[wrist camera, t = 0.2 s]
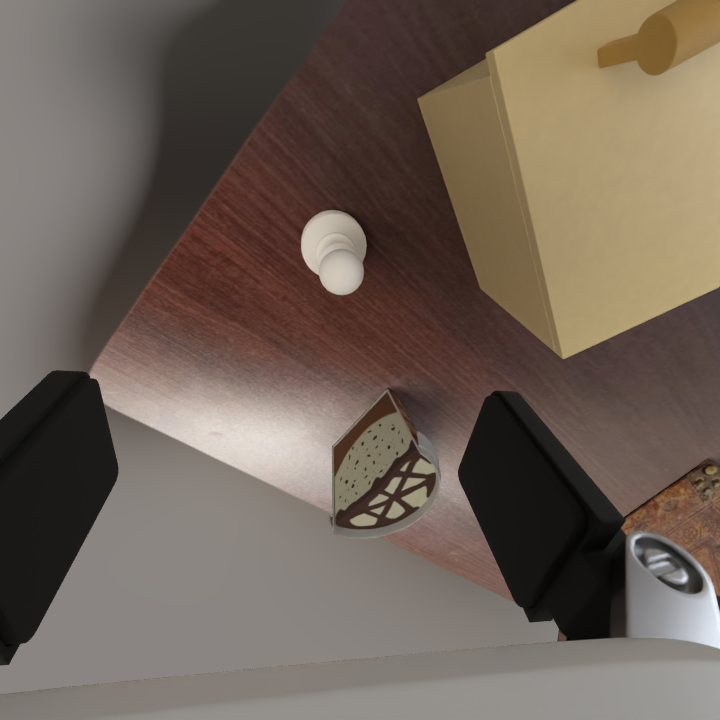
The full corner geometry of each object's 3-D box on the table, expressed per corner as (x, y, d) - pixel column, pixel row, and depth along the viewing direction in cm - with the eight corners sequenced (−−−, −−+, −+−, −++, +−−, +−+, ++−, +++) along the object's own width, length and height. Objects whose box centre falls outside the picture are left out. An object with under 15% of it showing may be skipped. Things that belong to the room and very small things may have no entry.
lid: (484, 53, 15) (550, 24, 11) (802, -133, 14) (1011, -245, 10) (555, 353, 24) (608, 398, 20) (759, 258, 22) (863, 285, 18)
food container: (366, 475, 44) (382, 556, 36) (323, 455, 42) (329, 537, 33) (439, 404, 40) (476, 477, 32) (396, 377, 38) (425, 448, 29)
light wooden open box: (416, 98, 26) (489, 75, 16) (593, -5, 24) (798, -103, 14) (479, 288, 34) (555, 353, 24) (616, 219, 32) (758, 257, 22)
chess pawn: (314, 281, 32) (317, 328, 24) (291, 221, 29) (287, 252, 21) (371, 262, 31) (393, 303, 24) (353, 200, 29) (372, 223, 21)
